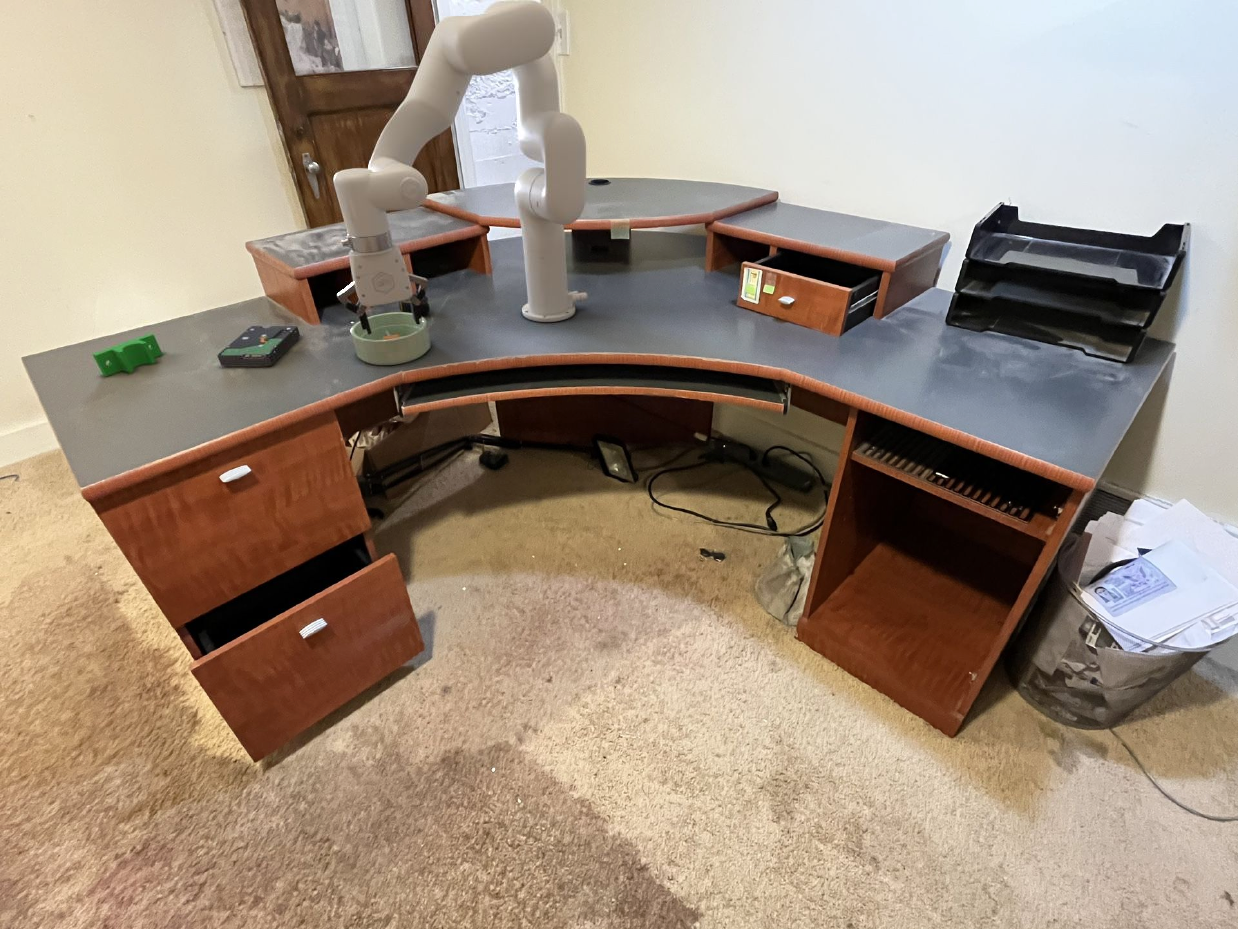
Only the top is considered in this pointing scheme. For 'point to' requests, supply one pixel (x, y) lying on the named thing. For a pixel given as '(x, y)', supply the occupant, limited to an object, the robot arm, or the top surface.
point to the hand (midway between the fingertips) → (393, 327)
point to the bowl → (391, 350)
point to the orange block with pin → (390, 336)
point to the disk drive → (259, 346)
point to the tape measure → (406, 307)
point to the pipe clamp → (128, 355)
